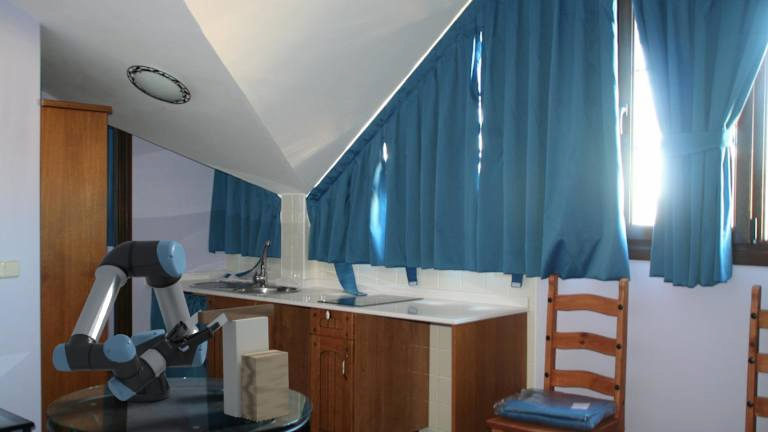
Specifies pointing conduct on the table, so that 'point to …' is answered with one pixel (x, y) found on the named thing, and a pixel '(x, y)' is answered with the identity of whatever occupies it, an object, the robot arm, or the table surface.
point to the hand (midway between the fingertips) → (213, 315)
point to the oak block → (265, 385)
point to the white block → (237, 342)
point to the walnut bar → (236, 313)
